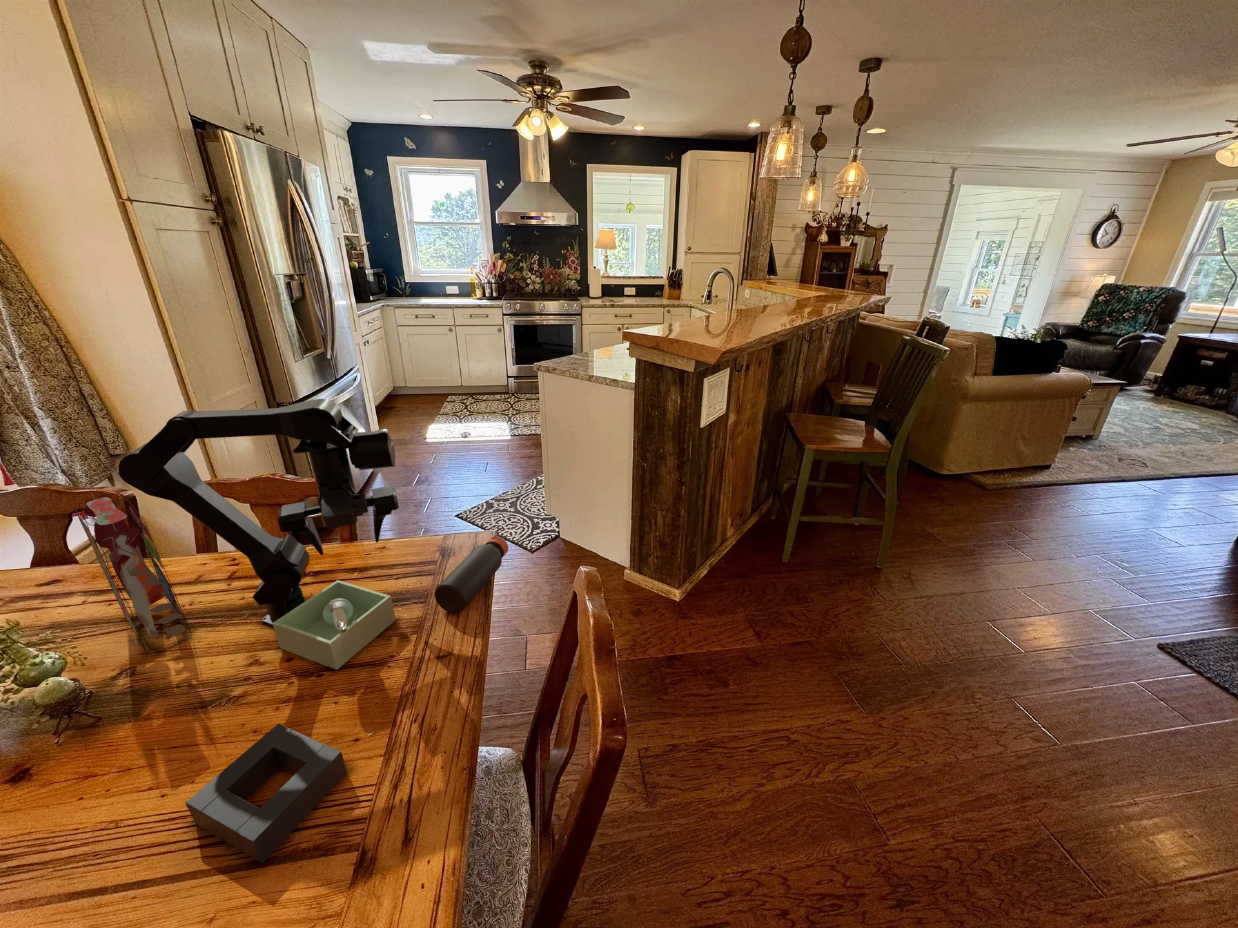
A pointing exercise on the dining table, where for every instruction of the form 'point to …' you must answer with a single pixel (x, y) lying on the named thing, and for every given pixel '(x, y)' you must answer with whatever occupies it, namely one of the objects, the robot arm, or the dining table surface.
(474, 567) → the bottle
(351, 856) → the dining table surface
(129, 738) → the dining table surface
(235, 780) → the gray rectangular frame
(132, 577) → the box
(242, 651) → the dining table surface
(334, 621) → the screw
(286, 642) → the parts bin
